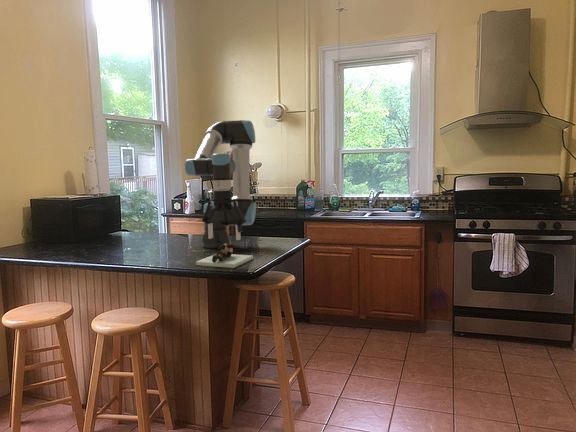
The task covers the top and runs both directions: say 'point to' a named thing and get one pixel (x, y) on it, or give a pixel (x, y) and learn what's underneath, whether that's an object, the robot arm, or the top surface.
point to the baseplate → (225, 261)
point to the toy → (223, 253)
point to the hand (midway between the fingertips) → (224, 239)
